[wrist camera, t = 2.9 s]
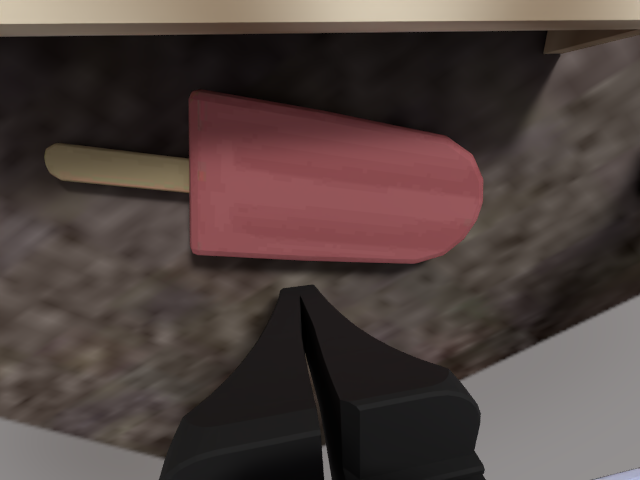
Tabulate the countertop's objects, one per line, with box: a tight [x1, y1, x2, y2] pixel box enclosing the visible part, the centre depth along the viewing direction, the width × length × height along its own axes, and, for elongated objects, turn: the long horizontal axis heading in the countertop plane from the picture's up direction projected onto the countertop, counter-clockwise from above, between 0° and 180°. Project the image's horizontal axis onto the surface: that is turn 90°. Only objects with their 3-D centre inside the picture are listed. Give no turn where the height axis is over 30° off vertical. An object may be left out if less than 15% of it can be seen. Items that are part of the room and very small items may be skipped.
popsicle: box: [44, 89, 483, 264], centre depth 11 cm, size 5×2×15 cm
